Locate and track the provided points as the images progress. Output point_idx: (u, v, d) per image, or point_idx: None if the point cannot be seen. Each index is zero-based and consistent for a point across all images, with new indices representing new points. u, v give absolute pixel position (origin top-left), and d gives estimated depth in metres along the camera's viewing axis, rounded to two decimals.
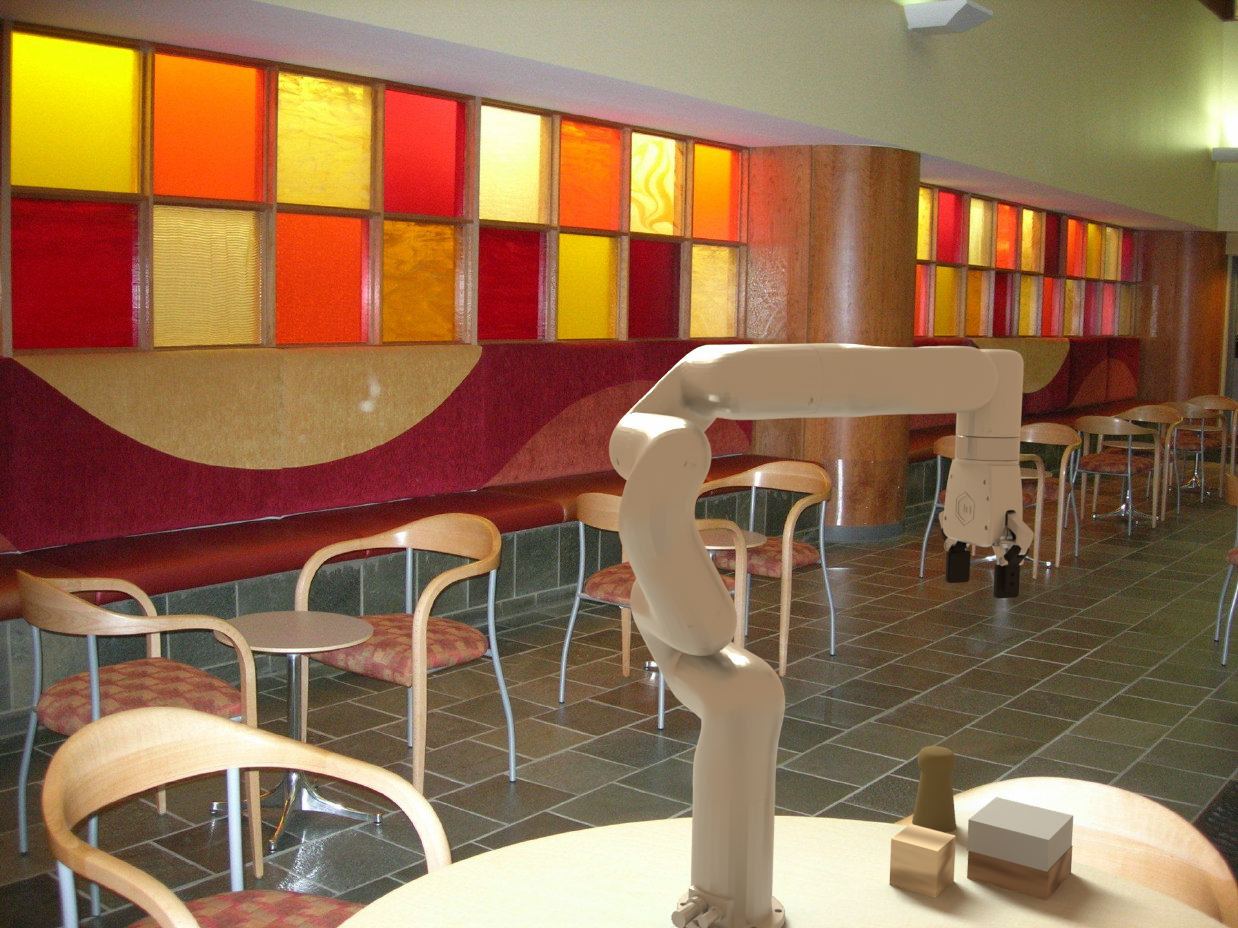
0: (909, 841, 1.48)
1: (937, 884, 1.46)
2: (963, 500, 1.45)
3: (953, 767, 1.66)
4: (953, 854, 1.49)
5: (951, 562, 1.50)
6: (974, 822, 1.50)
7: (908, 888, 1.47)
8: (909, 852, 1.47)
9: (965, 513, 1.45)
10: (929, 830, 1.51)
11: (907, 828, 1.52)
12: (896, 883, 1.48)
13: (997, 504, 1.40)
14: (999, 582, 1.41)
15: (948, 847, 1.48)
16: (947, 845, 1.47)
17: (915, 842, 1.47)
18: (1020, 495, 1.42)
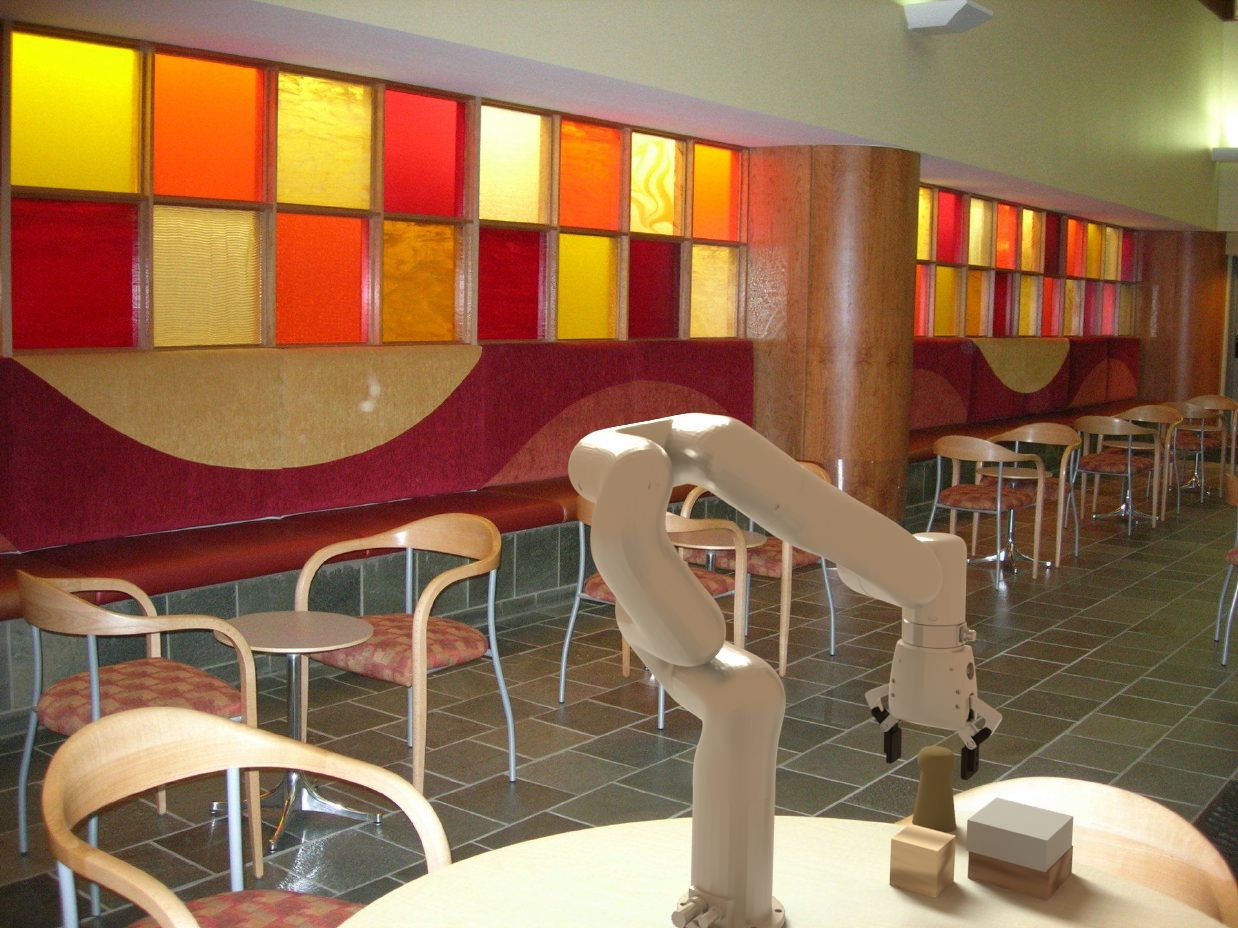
0: (909, 841, 1.48)
1: (937, 884, 1.46)
2: None
3: (953, 767, 1.66)
4: (953, 854, 1.49)
5: None
6: (973, 823, 1.50)
7: (908, 888, 1.47)
8: (909, 852, 1.47)
9: None
10: (929, 830, 1.51)
11: (907, 828, 1.52)
12: (896, 883, 1.48)
13: None
14: None
15: (948, 847, 1.48)
16: (947, 845, 1.47)
17: (915, 842, 1.47)
18: (891, 669, 1.49)
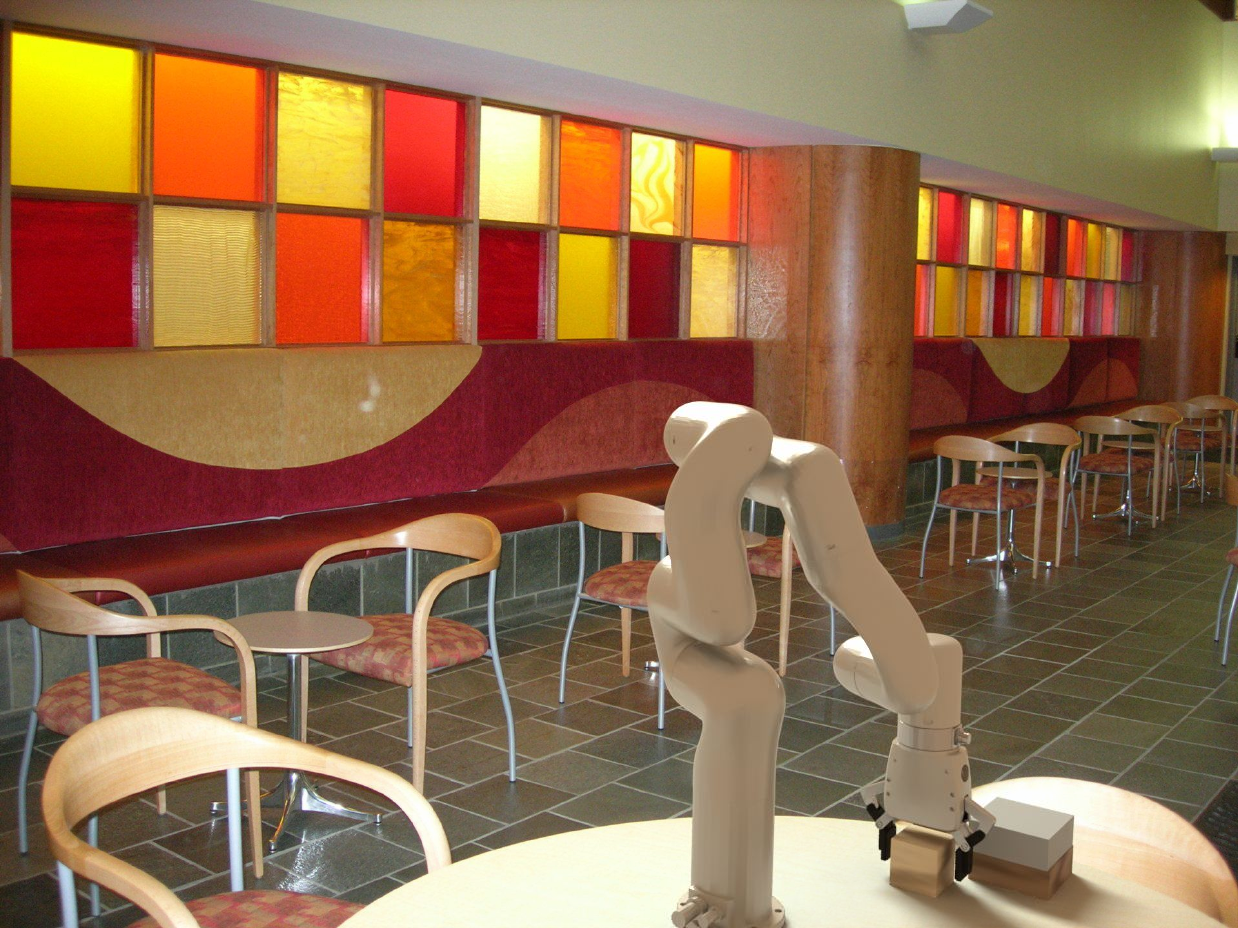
0: (909, 841, 1.48)
1: (937, 884, 1.46)
2: None
3: None
4: (953, 854, 1.49)
5: None
6: (975, 822, 1.50)
7: (908, 888, 1.47)
8: (908, 852, 1.47)
9: None
10: (929, 830, 1.51)
11: (907, 828, 1.52)
12: (896, 883, 1.48)
13: None
14: None
15: (947, 847, 1.48)
16: (947, 845, 1.47)
17: (915, 842, 1.47)
18: None
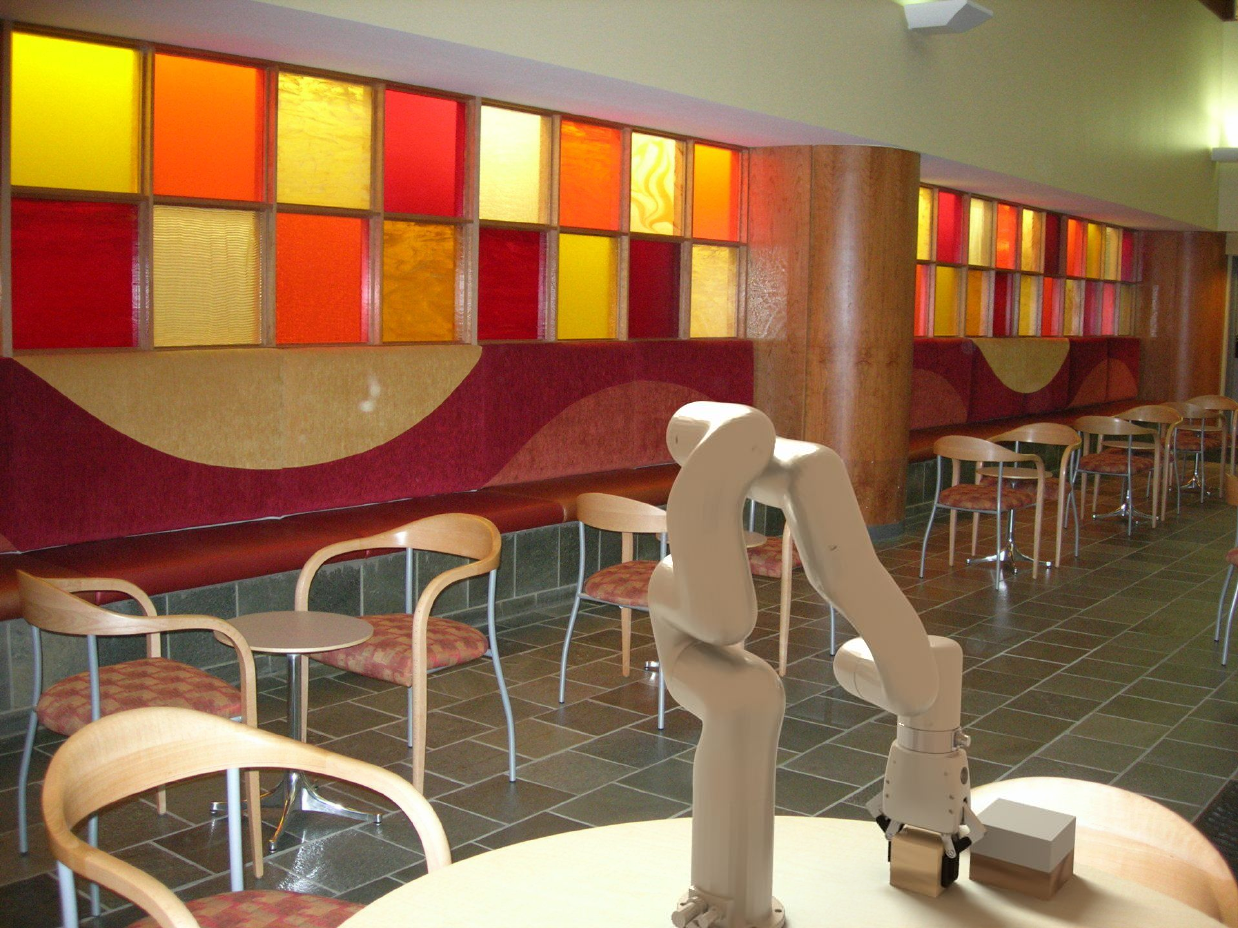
0: (910, 840, 1.48)
1: (938, 883, 1.46)
2: None
3: None
4: None
5: None
6: None
7: (908, 887, 1.47)
8: (909, 851, 1.47)
9: None
10: None
11: (907, 827, 1.52)
12: (897, 882, 1.48)
13: None
14: None
15: None
16: None
17: (915, 842, 1.47)
18: None
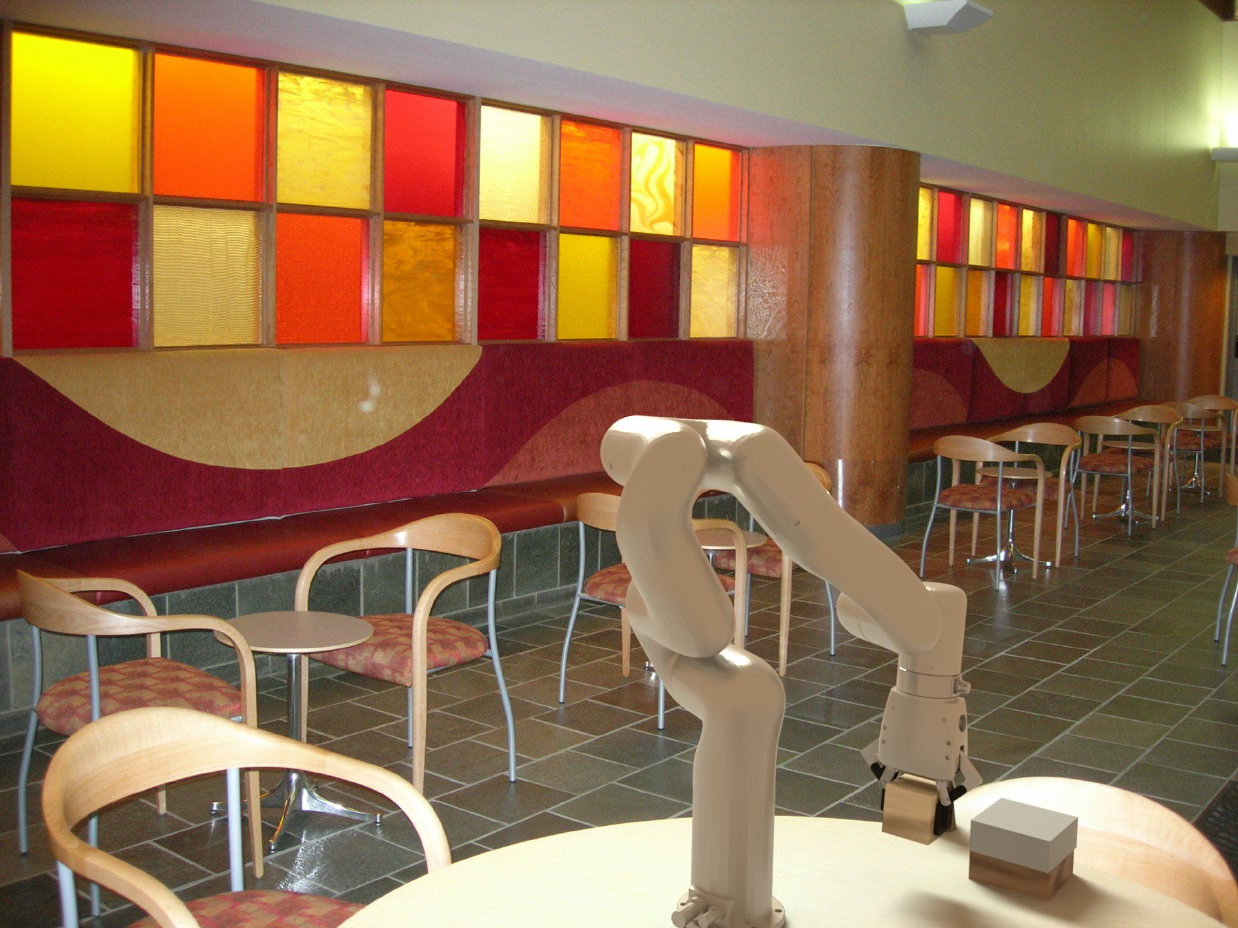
0: (904, 787, 1.47)
1: (930, 831, 1.45)
2: None
3: None
4: None
5: None
6: (976, 823, 1.50)
7: (900, 835, 1.46)
8: (903, 798, 1.46)
9: None
10: (924, 780, 1.50)
11: (902, 777, 1.51)
12: (889, 830, 1.47)
13: None
14: None
15: None
16: None
17: (910, 789, 1.46)
18: (883, 716, 1.49)
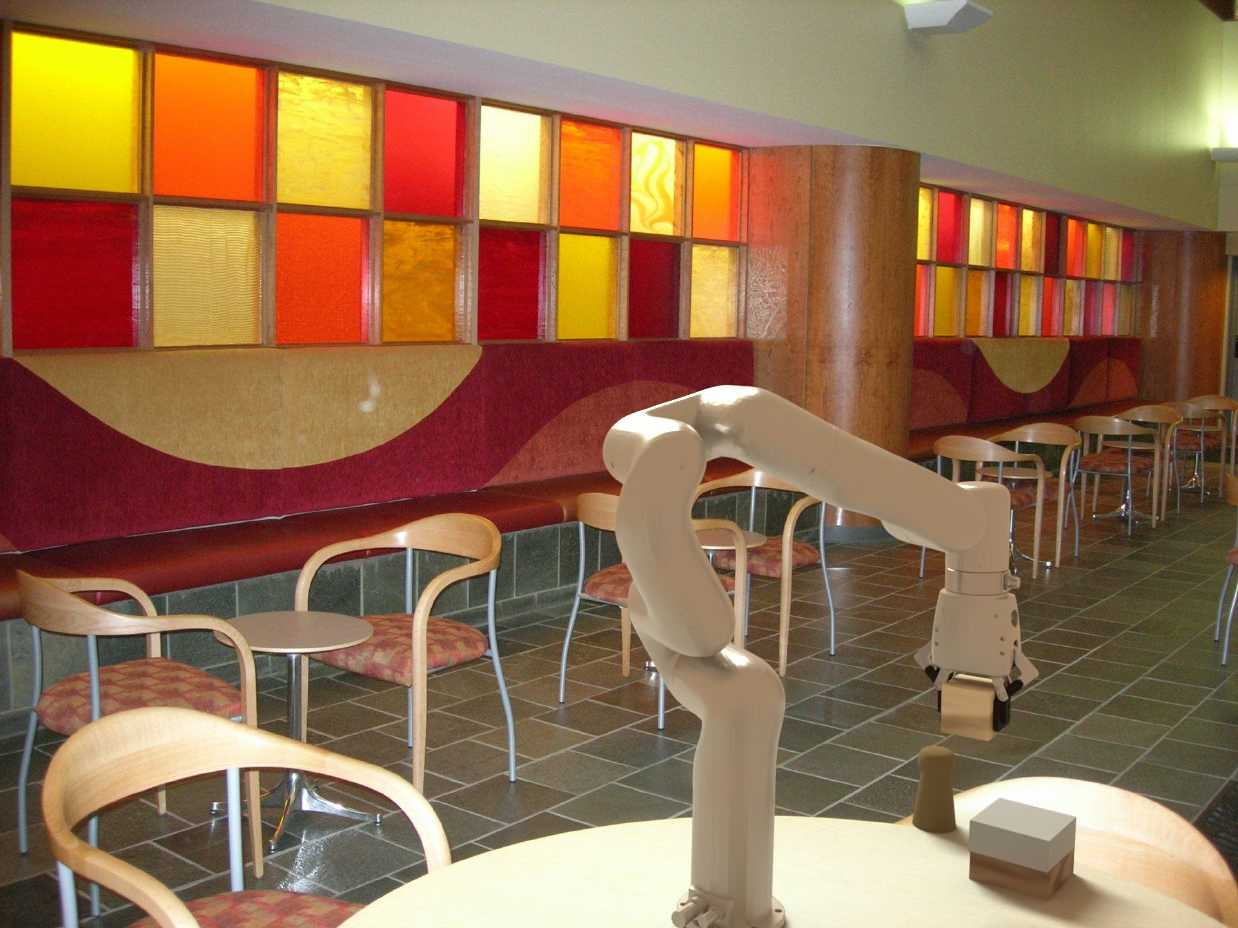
0: (960, 686, 1.47)
1: (990, 726, 1.45)
2: None
3: (953, 767, 1.66)
4: None
5: None
6: (975, 823, 1.50)
7: (960, 733, 1.47)
8: (960, 697, 1.47)
9: None
10: (979, 678, 1.50)
11: (956, 677, 1.51)
12: (948, 729, 1.48)
13: None
14: None
15: None
16: None
17: (966, 687, 1.47)
18: (934, 618, 1.49)
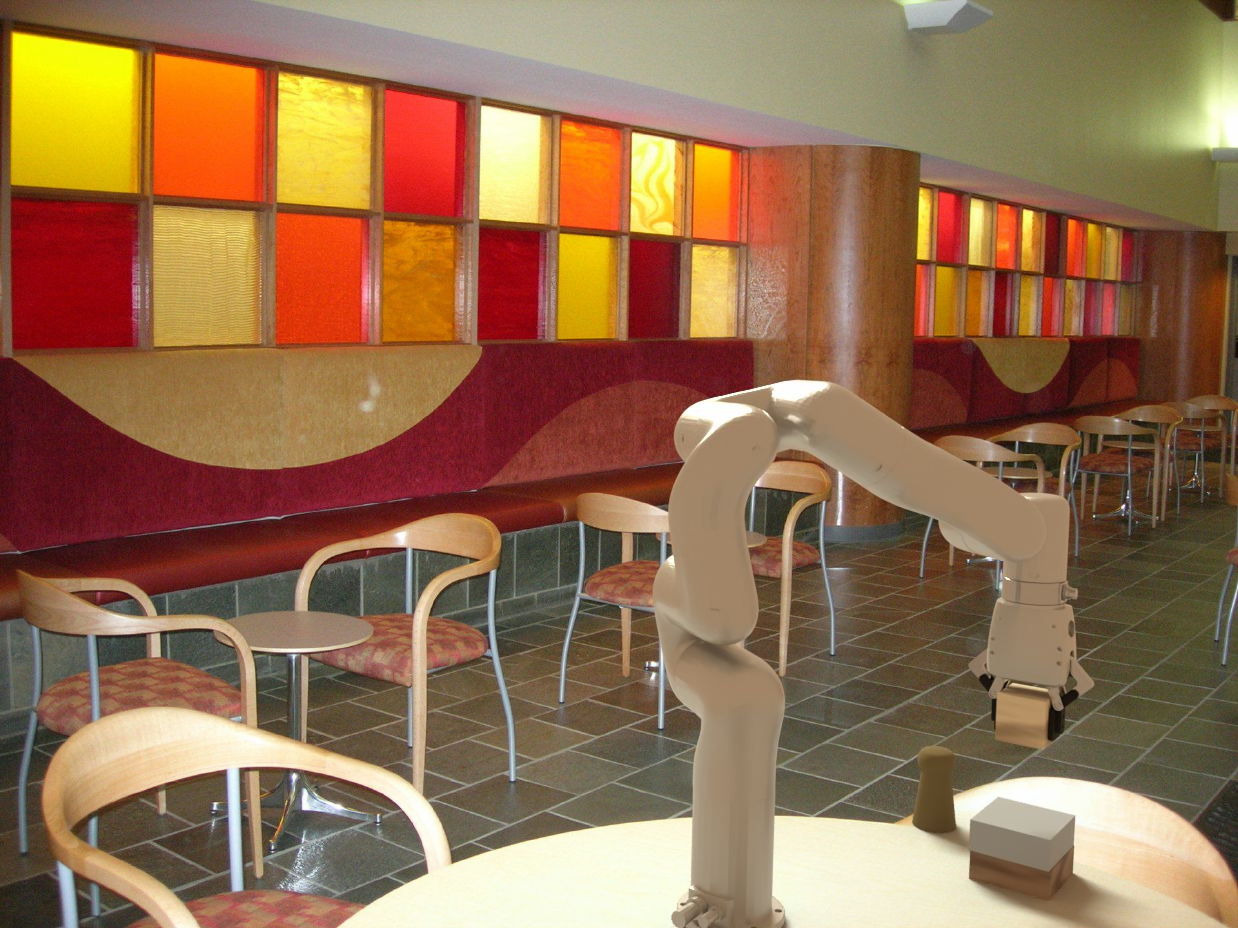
0: (1016, 695, 1.49)
1: (1045, 735, 1.47)
2: None
3: (953, 767, 1.66)
4: None
5: None
6: (976, 822, 1.50)
7: (1015, 741, 1.49)
8: (1015, 705, 1.48)
9: None
10: (1033, 687, 1.52)
11: (1010, 686, 1.53)
12: (1002, 737, 1.49)
13: None
14: None
15: None
16: None
17: (1022, 696, 1.48)
18: (990, 627, 1.51)
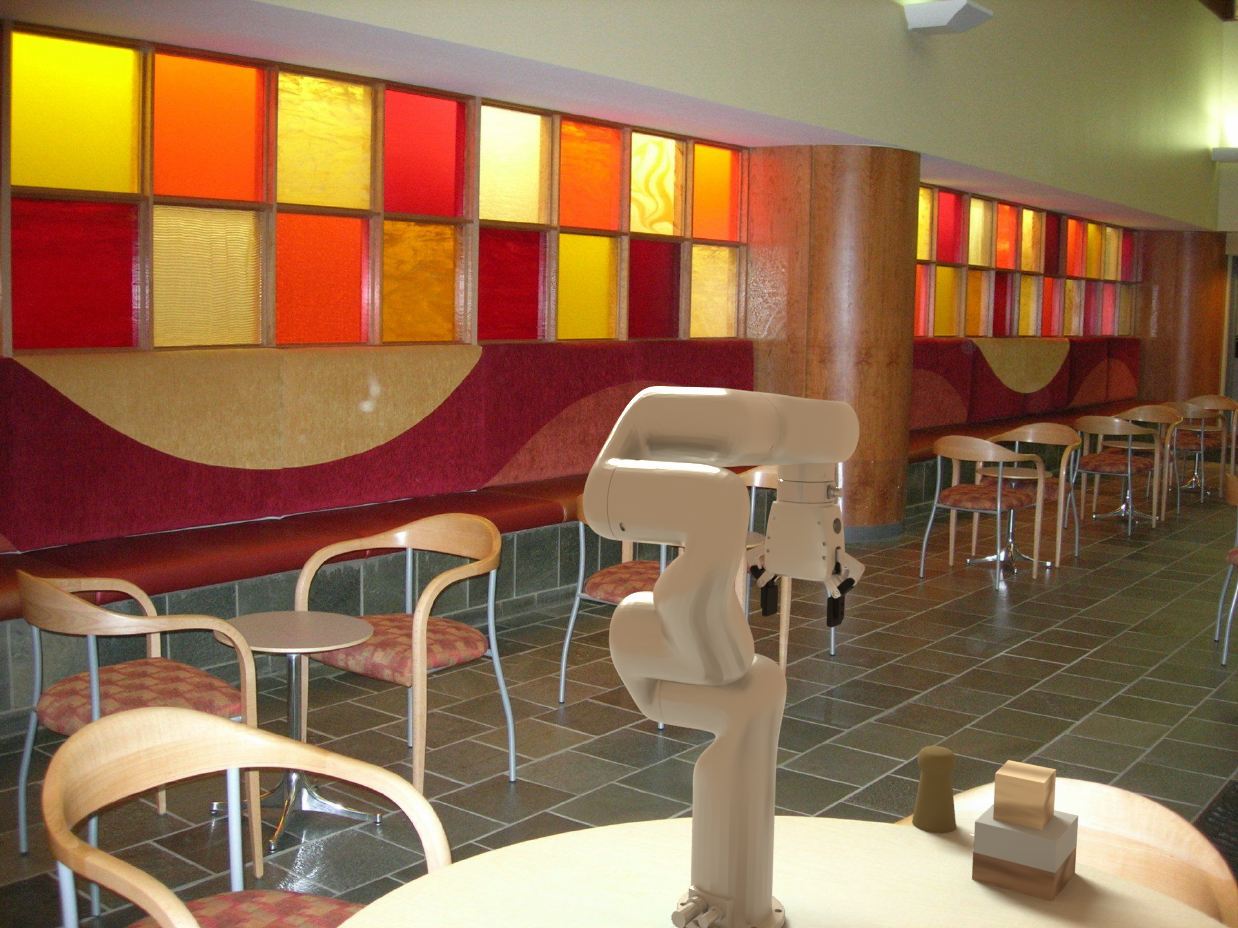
0: (1014, 775, 1.50)
1: (1043, 815, 1.48)
2: None
3: (953, 767, 1.66)
4: (1054, 787, 1.52)
5: None
6: (981, 824, 1.50)
7: (1013, 821, 1.49)
8: (1014, 785, 1.49)
9: None
10: (1029, 765, 1.53)
11: (1007, 764, 1.54)
12: (1000, 817, 1.50)
13: None
14: None
15: (1050, 780, 1.50)
16: (1050, 778, 1.50)
17: (1020, 776, 1.49)
18: (767, 527, 1.60)
